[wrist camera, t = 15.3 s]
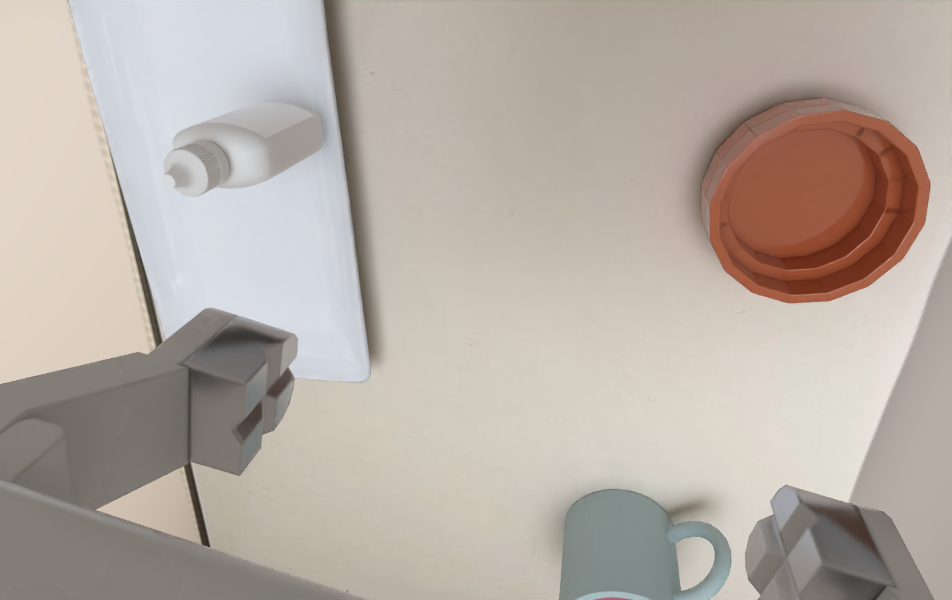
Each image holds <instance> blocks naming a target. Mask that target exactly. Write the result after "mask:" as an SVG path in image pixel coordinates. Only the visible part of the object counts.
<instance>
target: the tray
mask: <svg viewBox="0 0 952 600" xmlns="http://www.w3.org/2000/svg"><path fill="white" fill-rule="evenodd" d="M68 3H69V7H70V10H71V14H72V17H73V21H74V25H75V28H76V32H77V36H78V39H79V43H80V46H81V50H82V54H83V57H84V61H85V64H86V68H87V71H88V75H89V78H90V82H91V85H92V89H93V92H94V96H95V99H96V102H97V106H98V109H99V113H100V116H101V120H102V123H103V127H104V130H105V134H106V137H107V141H108V144H109V147H110V151H111V154H112V158H113V161H114V165H115V168H116V172H117V175H118V179H119V182H120V186H121V189H122V193H123V196H124V199H125V203H126V206H127V209H128V213H129V216H130V220H131V223H132V226H133V230H134V233H135V237H136V240H137V244H138V247H139V251H140V254H141V257H142V261H143V264H144V268H145V271H146V274H147V278H148V281H149V285H150V288H151V291H152V295H153V298H154V302H155V305H156V308H157V312H158V316H159V319H160V323H161V327H162V330H163V334H164V337H165V340H166V339H167V338H169V337H170V336H171V335H172V334H174V333H175V332H176V331H177V330H179V329H180V328H181V327H182V326H184V325H185V324H186V323H187V322H189V321H190V320H191V319H192V318H194V317H195V316H196V315H197V314H199V313H200V312H201V311H202V310H204V309H205V308H216V309H219V310H223V311H226V312H229V313H232V314H236V315H238V316H242V317H245V318H248V319H251V320H254V321H257V322H260V323H263V324H266V325H269V326H272V327H275V328H278V329H281V330H285V331H288V332H291V333H294V334H295V335H296V337H297V338H298V349H297V357H296V358H295V359H294V360H293V362H292V363H291V364H290V365H289V366H288V367H289V369H290V370H291V372H292V374H293V376H294V379H306V380H319V381H332V382H349V383H362V382H366V381H368V380H369V379H370V375H371V368H370V357H369V349H368V341H367V333H366V326H365V318H364V310H363V303H362V295H361V288H360V280H359V272H358V264H357V256H356V247H355V239H354V231H353V223H352V215H351V208H350V200H349V192H348V185H347V177H346V170H345V162H344V154H343V147H342V140H341V133H340V126H339V118H338V111H337V103H336V96H335V88H334V80H333V73H332V65H331V58H330V50H329V42H328V33H327V25H326V17H325V7H324V0H68ZM268 101H279V102H287V103H292V104H295V105H298V106H301V107H304V108H306V109H308V110H310V111H312V112H314V113H315V114H317V116H318V117H319V118H320V121H321V127H322V142H323V144H322V148H321V149H320V150H319V151H317V152H316V153H314V154H312V155H311V156H309V157H307V158H306V159H304V160H302V161H301V162H299V163H297V164H296V165H294V166H292V167H291V168H289V169H287V170H285V171H284V172H282V173H280V174H278V175H277V176H275V177H273V178H271V179H269V180H267V181H265V182H262V183H259V184H257V185H253V186H249V187H244V188H235V189H226V188H217V187H215V188H213V189H212V190H210V191H208V192H206V193H204V194H202V195H200V196H197V197H188V196H185V195H183V194H181V193H179V192H177V191H176V190H175V189H174V188H173V189H168V188H166V187H165V186H164V185H163V184H162V181H161V179H162V176H163V175H164V174H165V173H164V165H163V164H164V160H165V158H166V156H167V154H169V152H171V151H172V150H173V138H174V137H175V135H176V134H177V133H178V132H180V131H182V130H184V129H186V128H188V127H190V126H193V125H196V124H198V123H201V122H204V121H206V120H209V119H212V118H215V117H217V116H220V115H223V114H226V113H229V112H231V111H234V110H237V109H240V108H243V107H246V106H249V105H252V104H256V103H260V102H268Z"/></svg>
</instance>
